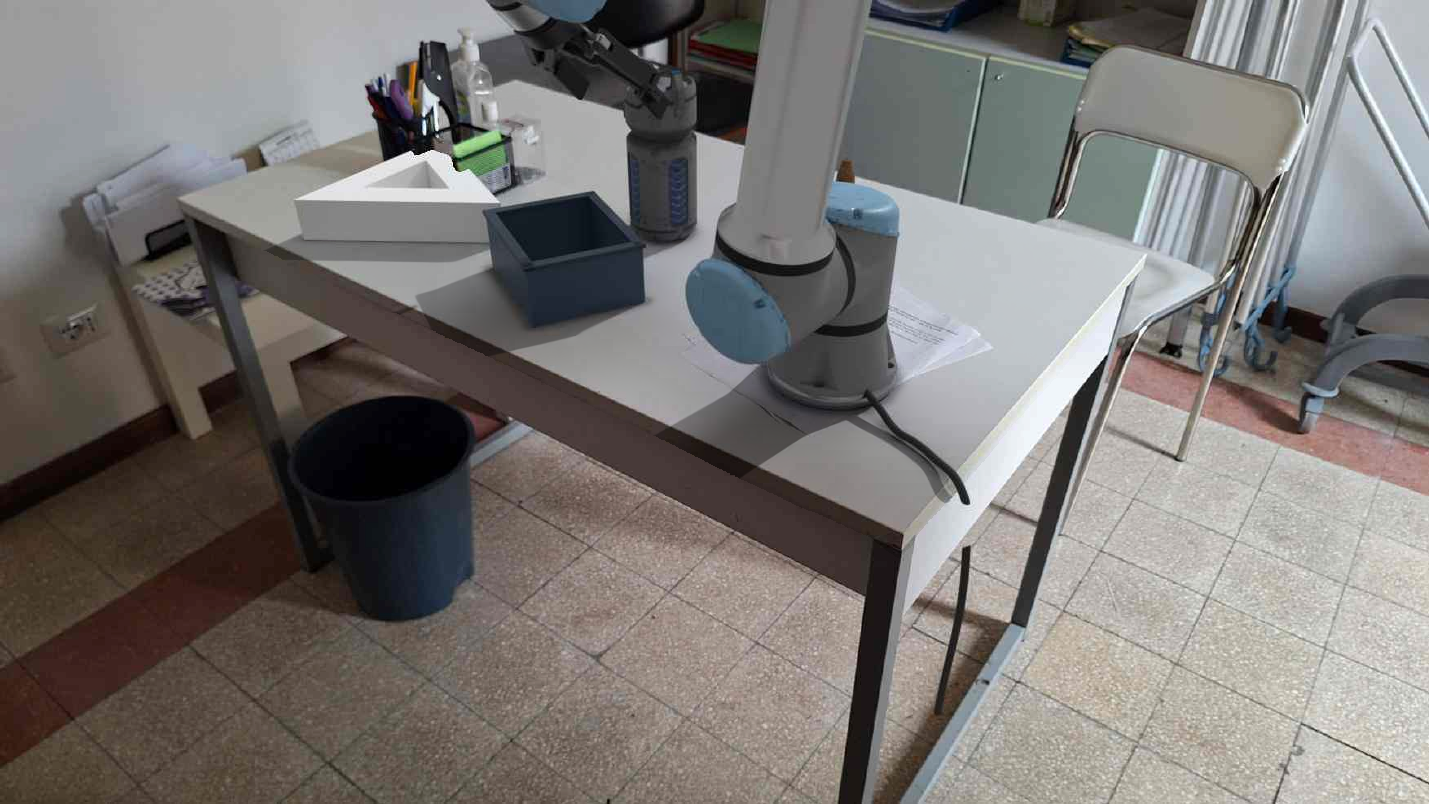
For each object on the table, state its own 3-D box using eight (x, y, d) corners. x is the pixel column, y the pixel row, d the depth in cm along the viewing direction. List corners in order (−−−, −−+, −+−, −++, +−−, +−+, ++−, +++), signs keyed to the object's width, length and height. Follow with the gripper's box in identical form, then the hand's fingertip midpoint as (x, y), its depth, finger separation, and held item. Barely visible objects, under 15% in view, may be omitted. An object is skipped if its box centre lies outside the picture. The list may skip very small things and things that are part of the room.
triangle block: (446, 174, 168) (440, 138, 164) (567, 207, 157) (564, 169, 153) (303, 239, 147) (293, 199, 143) (433, 283, 136) (425, 241, 132)
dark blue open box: (648, 302, 132) (646, 244, 127) (531, 329, 126) (524, 268, 121) (597, 245, 146) (593, 190, 141) (489, 266, 140) (482, 210, 135)
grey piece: (668, 206, 158) (664, 45, 144) (712, 236, 149) (712, 68, 134) (611, 219, 153) (602, 55, 139) (653, 252, 144) (647, 80, 130)
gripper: (633, -10, 109) (710, 92, 127) (472, -37, 120) (564, 60, 139) (605, 51, 108) (686, 144, 127) (445, 17, 120) (542, 107, 138)
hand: (622, 100), depth 133 cm, fingers open, 13 cm apart
